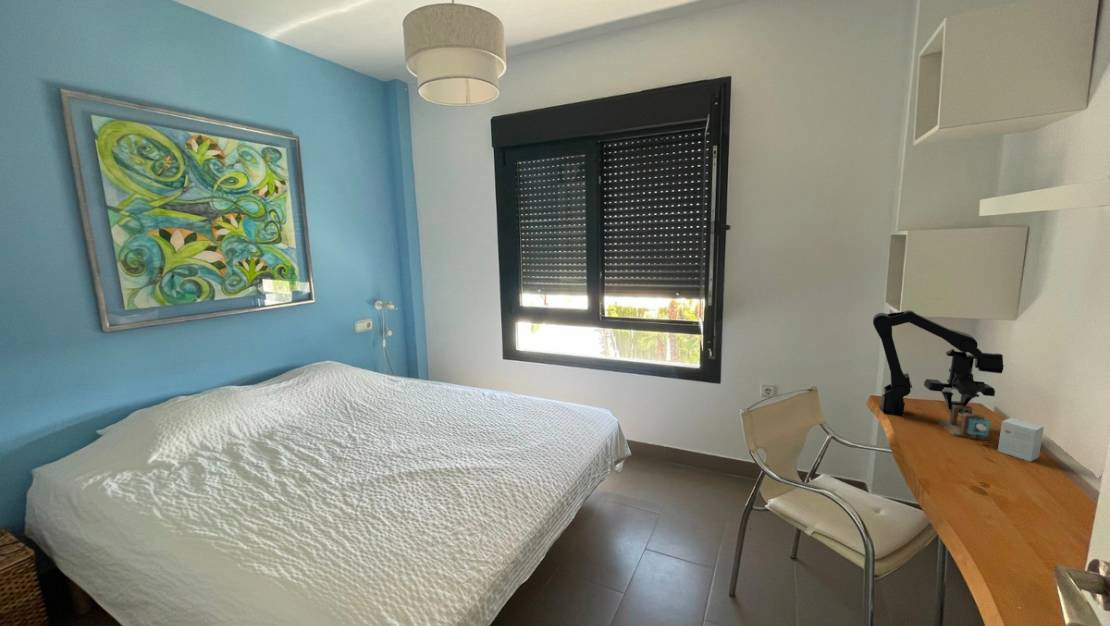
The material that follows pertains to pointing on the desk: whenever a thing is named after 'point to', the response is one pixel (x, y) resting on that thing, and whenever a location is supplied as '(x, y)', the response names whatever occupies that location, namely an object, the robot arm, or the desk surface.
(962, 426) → the bearing stand
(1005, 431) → the small box
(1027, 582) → the desk surface
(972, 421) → the teal spacer
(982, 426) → the steel shaft
